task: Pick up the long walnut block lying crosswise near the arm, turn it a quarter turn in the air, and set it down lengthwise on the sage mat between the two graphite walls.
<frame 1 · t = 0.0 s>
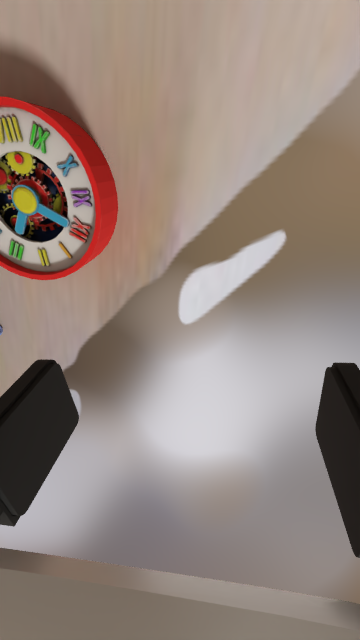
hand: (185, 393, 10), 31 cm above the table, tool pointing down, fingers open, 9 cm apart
toy clock: (48, 196, 39), on the table
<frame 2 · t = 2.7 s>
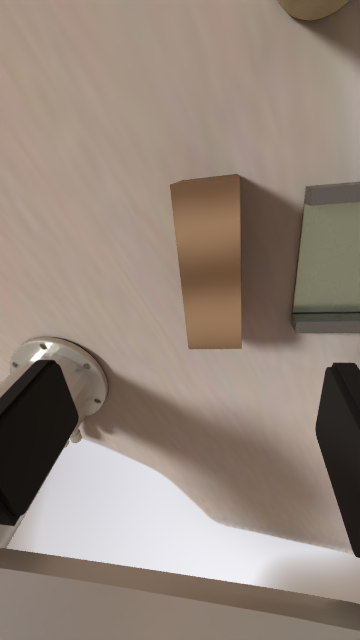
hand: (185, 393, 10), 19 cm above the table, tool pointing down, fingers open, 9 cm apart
walnut block: (213, 254, 26), on the table
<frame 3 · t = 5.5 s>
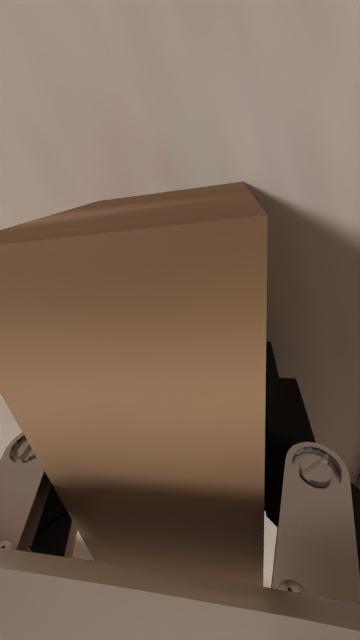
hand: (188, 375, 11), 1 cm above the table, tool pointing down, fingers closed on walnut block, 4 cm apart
walnut block: (191, 364, 12), on the table, touching gripper
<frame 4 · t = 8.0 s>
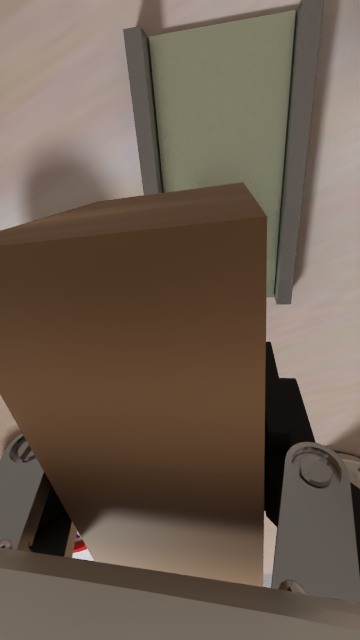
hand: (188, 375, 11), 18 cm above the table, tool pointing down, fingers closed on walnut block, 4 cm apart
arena: (220, 186, 24), on the table
walnut block: (191, 364, 12), point 17 cm above the table, touching gripper
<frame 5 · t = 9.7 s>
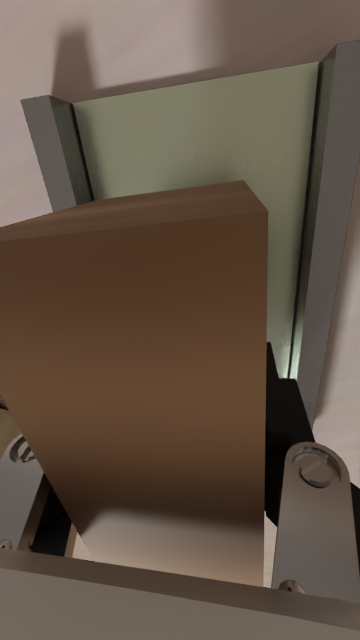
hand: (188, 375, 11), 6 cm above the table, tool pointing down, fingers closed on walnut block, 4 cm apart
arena: (202, 307, 16), on the table
walnut block: (191, 363, 12), point 5 cm above the table, touching gripper
when the fingers open (2 cm above the table, at t = 10.8 s): walnut block drops 1 cm, resting on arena.
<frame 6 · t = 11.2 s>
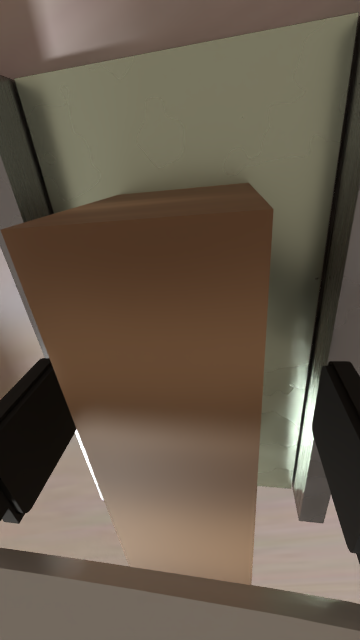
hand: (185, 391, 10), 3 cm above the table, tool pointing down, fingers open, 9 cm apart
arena: (195, 342, 13), on the table
walnut block: (194, 347, 13), resting on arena
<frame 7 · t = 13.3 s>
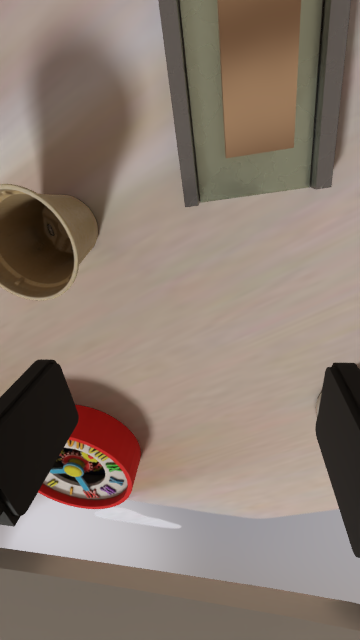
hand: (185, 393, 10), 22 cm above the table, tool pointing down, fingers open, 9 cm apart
toy clock: (86, 442, 50), on the table
flower pot: (70, 224, 30), on the table
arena: (250, 53, 22), on the table
walnut block: (250, 54, 21), resting on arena
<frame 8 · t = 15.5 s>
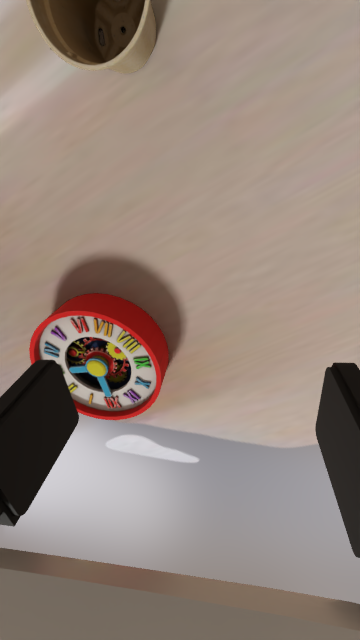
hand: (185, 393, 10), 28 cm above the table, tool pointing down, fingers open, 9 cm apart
toy clock: (109, 348, 47), on the table
flower pot: (124, 31, 27), on the table
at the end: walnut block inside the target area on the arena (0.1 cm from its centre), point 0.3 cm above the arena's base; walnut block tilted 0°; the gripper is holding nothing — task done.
